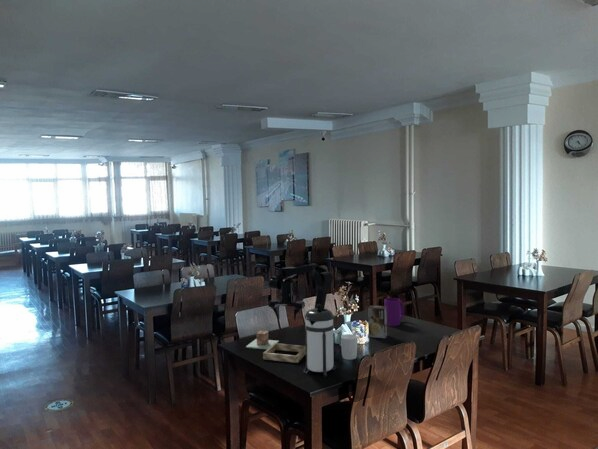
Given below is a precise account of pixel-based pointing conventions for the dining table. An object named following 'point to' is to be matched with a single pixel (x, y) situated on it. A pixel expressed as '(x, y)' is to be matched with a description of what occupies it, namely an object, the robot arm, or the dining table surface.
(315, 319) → the coffee press
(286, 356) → the pine frame
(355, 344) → the white cup
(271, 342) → the sage board
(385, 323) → the coffee box
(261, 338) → the terracotta block
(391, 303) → the mug
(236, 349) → the dining table surface
